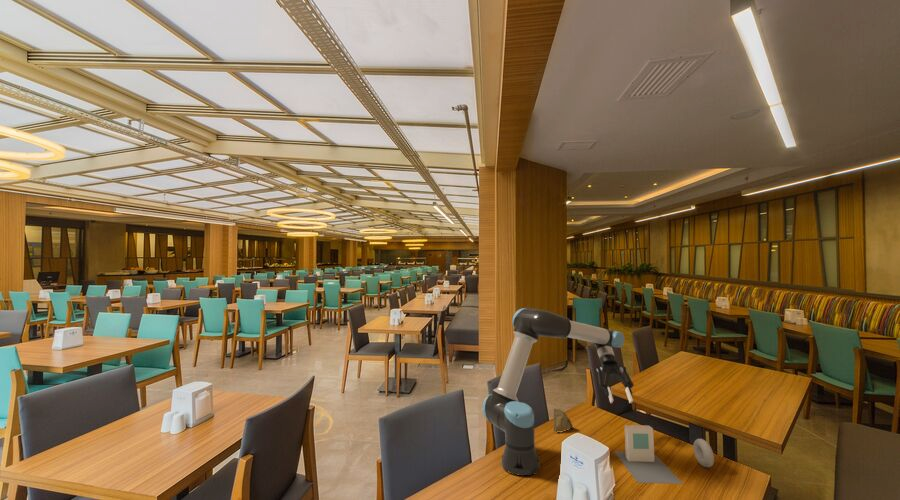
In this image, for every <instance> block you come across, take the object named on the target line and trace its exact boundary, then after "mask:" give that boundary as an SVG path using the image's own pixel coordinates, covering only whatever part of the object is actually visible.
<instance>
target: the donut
mask: <svg viewBox="0 0 900 500" xmlns="http://www.w3.org/2000/svg"><path fill="white" fill-rule="evenodd" d="M692 445H693V446H692V447H693V455H694V456H695V459H696V461H697V462H698V463H699V465H701V466H702V467H704V468H711V467H712V466H713V465H714V461H715V456H714V452H713V449H712V447H711V446H710V443H708V442H707V441H706V440H705V439H703V438H696V439H695V440H694V442H693V444H692Z"/></svg>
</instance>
